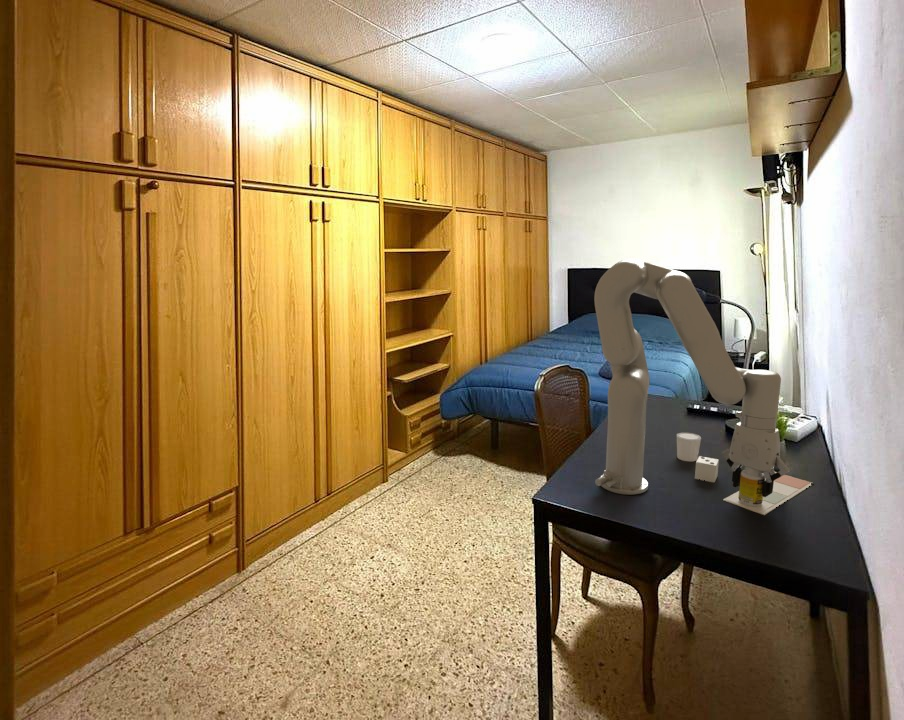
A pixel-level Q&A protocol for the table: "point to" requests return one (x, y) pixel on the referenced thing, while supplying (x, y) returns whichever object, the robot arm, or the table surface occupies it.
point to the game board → (774, 494)
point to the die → (706, 469)
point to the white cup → (688, 446)
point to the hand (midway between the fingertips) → (751, 489)
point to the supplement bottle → (751, 487)
